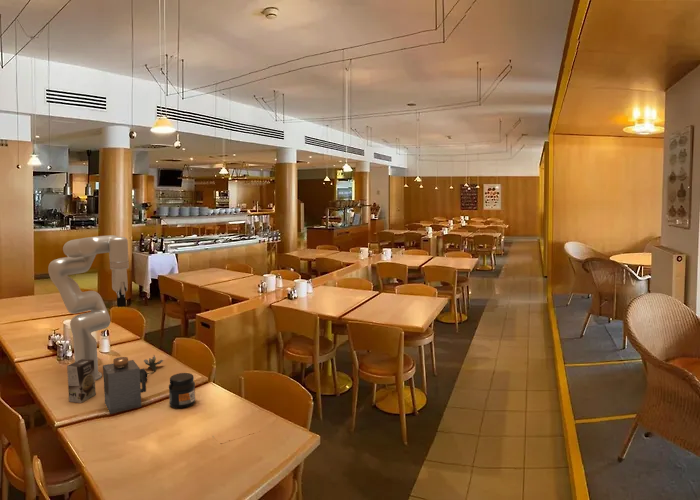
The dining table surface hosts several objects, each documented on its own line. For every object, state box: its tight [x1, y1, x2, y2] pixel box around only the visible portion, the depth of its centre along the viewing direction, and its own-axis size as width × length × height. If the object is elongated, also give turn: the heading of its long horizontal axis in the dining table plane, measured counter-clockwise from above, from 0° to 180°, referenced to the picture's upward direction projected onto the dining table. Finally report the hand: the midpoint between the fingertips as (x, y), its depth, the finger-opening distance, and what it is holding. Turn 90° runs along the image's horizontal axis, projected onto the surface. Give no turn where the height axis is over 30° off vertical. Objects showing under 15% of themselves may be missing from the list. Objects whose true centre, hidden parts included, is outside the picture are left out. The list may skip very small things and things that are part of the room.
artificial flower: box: [140, 354, 164, 383], centre depth 244 cm, size 9×22×10 cm, turn 176°
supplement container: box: [168, 372, 196, 409], centre depth 210 cm, size 10×10×12 cm
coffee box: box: [66, 359, 96, 404], centre depth 215 cm, size 9×6×16 cm
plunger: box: [112, 356, 129, 368], centre depth 208 cm, size 10×10×18 cm
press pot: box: [102, 359, 147, 415], centre depth 209 cm, size 12×15×17 cm
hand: (121, 306), depth 219 cm, fingers closed
